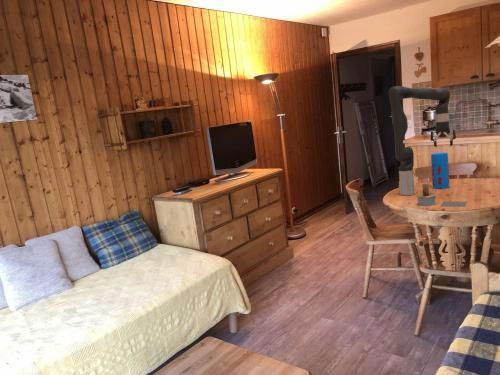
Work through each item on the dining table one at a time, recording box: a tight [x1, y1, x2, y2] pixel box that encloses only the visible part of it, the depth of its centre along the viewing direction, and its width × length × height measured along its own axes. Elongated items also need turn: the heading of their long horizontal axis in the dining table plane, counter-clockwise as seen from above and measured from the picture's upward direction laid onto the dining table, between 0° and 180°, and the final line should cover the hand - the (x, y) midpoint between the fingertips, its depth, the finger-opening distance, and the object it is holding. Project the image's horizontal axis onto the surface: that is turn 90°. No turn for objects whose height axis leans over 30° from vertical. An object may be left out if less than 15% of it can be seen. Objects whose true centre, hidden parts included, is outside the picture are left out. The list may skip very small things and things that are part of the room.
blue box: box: [430, 152, 450, 190], centre depth 276 cm, size 11×11×25 cm
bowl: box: [416, 196, 437, 207], centre depth 237 cm, size 10×10×5 cm
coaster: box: [439, 200, 468, 208], centre depth 229 cm, size 13×13×1 cm
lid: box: [415, 183, 437, 199], centre depth 236 cm, size 11×11×8 cm
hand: (443, 146), depth 243 cm, fingers open, 8 cm apart
